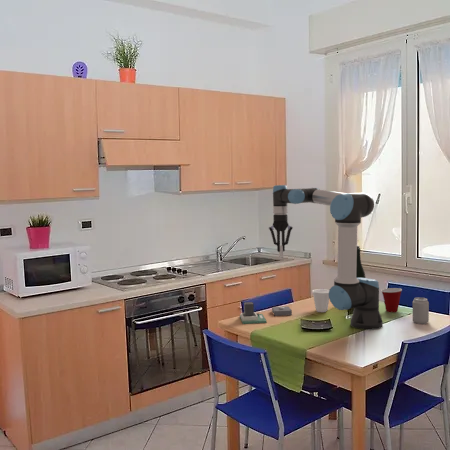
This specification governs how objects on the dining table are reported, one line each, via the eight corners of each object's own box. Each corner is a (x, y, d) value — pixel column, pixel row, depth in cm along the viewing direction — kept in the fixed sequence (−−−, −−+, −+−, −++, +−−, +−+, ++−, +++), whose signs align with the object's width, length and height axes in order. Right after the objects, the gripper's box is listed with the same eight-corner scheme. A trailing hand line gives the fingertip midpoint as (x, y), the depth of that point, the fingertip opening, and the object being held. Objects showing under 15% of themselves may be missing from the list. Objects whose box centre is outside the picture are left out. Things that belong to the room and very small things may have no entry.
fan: (291, 315, 286) (291, 309, 286) (274, 315, 286) (274, 310, 285) (288, 310, 295) (288, 305, 295) (272, 311, 294) (272, 306, 294)
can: (429, 321, 268) (429, 297, 267) (427, 325, 261) (428, 300, 260) (413, 319, 271) (413, 296, 270) (411, 323, 265) (411, 299, 263)
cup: (330, 313, 287) (330, 293, 286) (311, 313, 289) (311, 292, 288) (331, 309, 297) (330, 289, 296) (312, 308, 299) (312, 288, 298)
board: (266, 322, 273) (266, 316, 272) (242, 323, 272) (242, 318, 271) (262, 315, 287) (262, 310, 286) (239, 316, 286) (239, 311, 285)
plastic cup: (385, 307, 297) (385, 286, 296) (405, 310, 290) (405, 288, 289) (377, 311, 288) (377, 289, 287) (397, 314, 281) (397, 292, 280)
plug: (253, 319, 276) (253, 304, 275) (245, 319, 275) (244, 304, 275) (252, 316, 281) (252, 301, 280) (244, 317, 280) (243, 302, 280)
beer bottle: (368, 301, 311) (368, 244, 308) (363, 305, 302) (363, 247, 299) (350, 300, 316) (349, 244, 313) (345, 304, 307) (344, 246, 304)
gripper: (290, 213, 295) (291, 256, 297) (267, 213, 294) (268, 257, 296) (293, 214, 287) (294, 258, 290) (269, 214, 286) (270, 259, 288)
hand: (281, 257), depth 293 cm, fingers closed
